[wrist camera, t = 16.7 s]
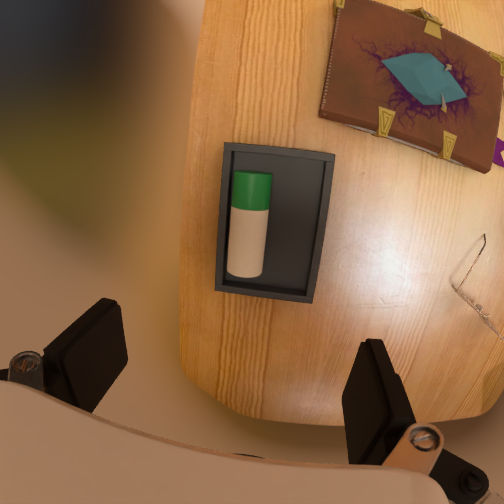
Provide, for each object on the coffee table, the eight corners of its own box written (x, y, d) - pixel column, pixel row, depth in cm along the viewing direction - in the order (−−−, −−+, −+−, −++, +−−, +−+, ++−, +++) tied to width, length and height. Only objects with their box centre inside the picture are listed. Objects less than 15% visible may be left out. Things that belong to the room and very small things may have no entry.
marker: (261, 279, 29) (224, 275, 30) (262, 266, 33) (229, 262, 33) (272, 175, 26) (231, 171, 26) (272, 172, 30) (236, 169, 30)
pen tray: (311, 295, 34) (312, 303, 32) (218, 282, 35) (214, 290, 33) (332, 154, 29) (335, 154, 27) (228, 143, 30) (224, 142, 28)
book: (497, 185, 27) (520, 193, 22) (312, 120, 29) (315, 116, 24) (513, 69, 21) (535, 66, 16) (334, -9, 22) (339, -29, 18)
